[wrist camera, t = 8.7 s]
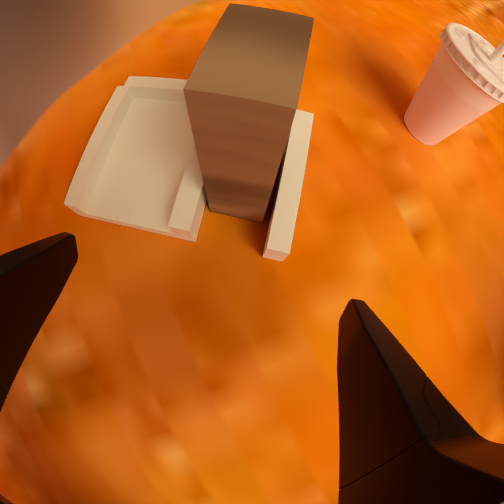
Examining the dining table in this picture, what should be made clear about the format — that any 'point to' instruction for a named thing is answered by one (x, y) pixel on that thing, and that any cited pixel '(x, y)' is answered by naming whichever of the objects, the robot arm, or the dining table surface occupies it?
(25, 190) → the dining table surface
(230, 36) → the brown long block
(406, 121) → the smoothie
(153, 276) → the dining table surface
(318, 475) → the dining table surface
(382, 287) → the dining table surface
